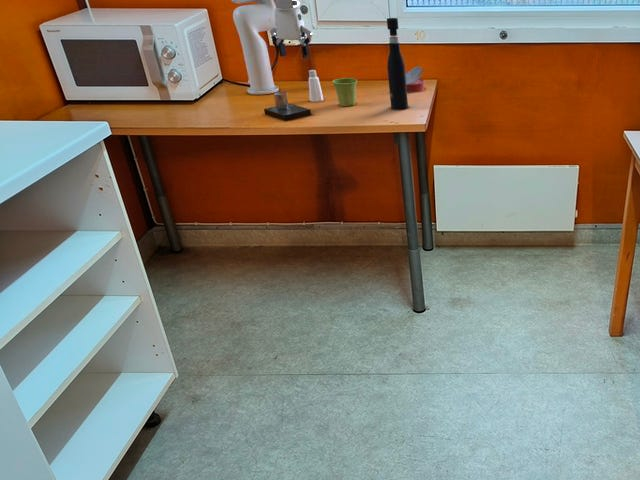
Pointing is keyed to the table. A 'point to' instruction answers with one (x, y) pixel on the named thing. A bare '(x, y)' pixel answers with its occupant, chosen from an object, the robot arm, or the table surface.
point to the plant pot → (346, 91)
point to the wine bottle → (396, 69)
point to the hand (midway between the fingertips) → (294, 56)
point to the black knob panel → (288, 112)
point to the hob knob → (281, 100)
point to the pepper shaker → (314, 87)
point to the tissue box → (414, 80)
